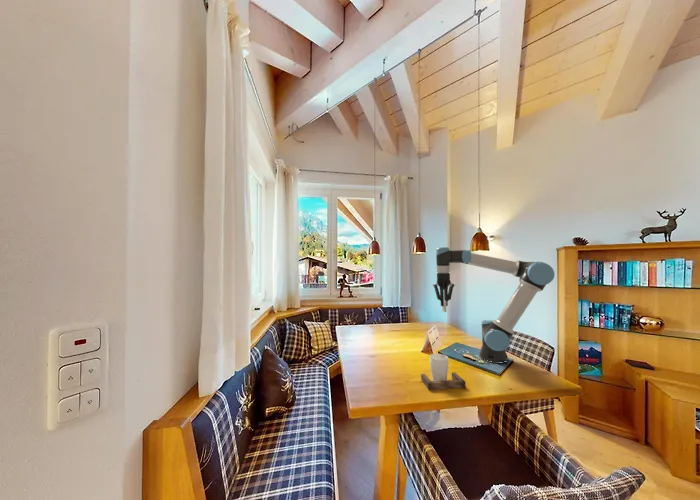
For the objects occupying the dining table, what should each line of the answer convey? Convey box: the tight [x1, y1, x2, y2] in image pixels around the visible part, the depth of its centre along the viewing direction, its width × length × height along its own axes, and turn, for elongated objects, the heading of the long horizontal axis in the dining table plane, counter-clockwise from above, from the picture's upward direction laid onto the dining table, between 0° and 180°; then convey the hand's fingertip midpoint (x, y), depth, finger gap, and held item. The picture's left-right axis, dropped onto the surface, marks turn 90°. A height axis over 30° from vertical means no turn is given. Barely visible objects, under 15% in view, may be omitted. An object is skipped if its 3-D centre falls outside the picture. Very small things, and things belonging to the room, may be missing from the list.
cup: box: [429, 353, 450, 381], centre depth 129 cm, size 9×9×12 cm
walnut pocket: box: [420, 371, 466, 391], centre depth 126 cm, size 18×10×3 cm, turn 94°
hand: (444, 311), depth 155 cm, fingers closed
